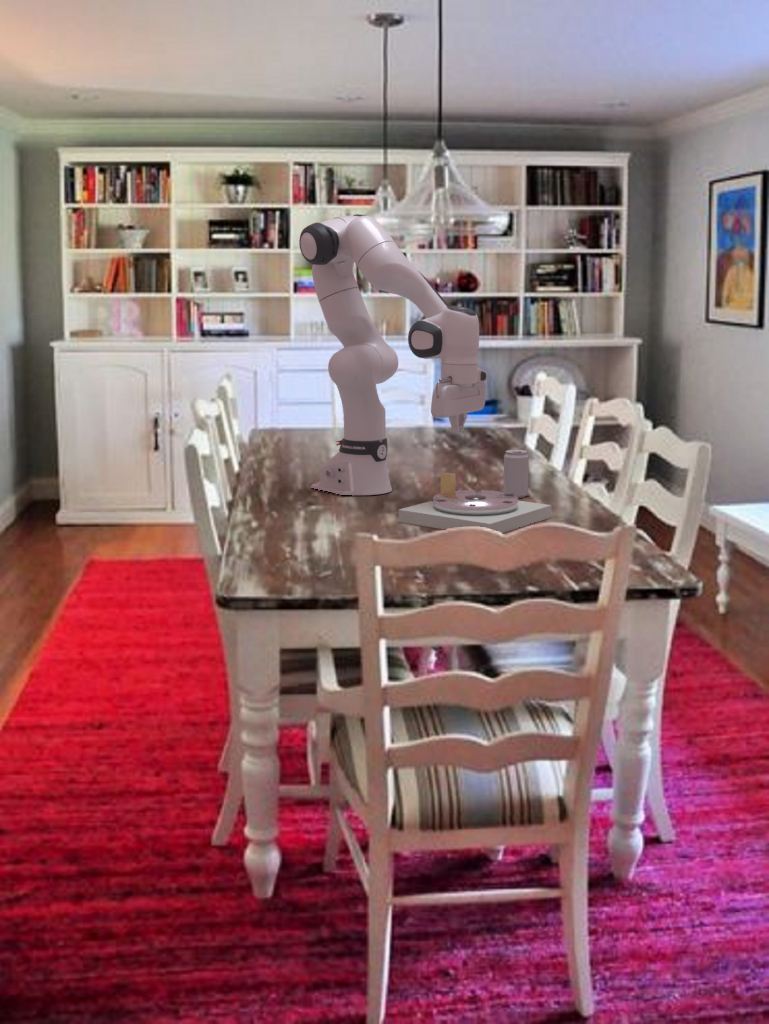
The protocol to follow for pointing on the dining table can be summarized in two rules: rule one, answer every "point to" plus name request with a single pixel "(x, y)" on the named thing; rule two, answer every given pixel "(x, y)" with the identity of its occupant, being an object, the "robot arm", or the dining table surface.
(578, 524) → the dining table surface
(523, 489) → the beverage can
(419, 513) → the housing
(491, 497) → the turntable disc
